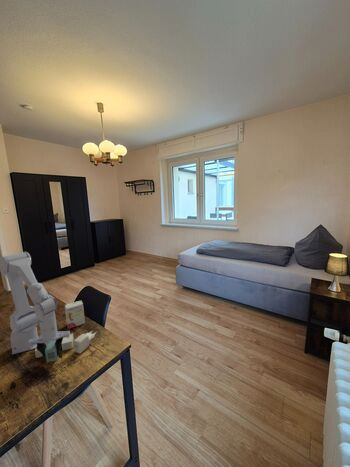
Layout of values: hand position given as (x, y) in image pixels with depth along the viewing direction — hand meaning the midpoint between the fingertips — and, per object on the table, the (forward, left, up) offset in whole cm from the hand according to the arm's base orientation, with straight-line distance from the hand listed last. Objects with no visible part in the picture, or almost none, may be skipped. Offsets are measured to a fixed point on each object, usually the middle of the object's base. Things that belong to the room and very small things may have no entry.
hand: (52, 355), depth 83 cm
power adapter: (+13, +3, -2) cm, 14 cm away
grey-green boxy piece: (0, +3, -1) cm, 3 cm away
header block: (0, +7, -1) cm, 7 cm away
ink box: (+7, +23, -2) cm, 24 cm away
